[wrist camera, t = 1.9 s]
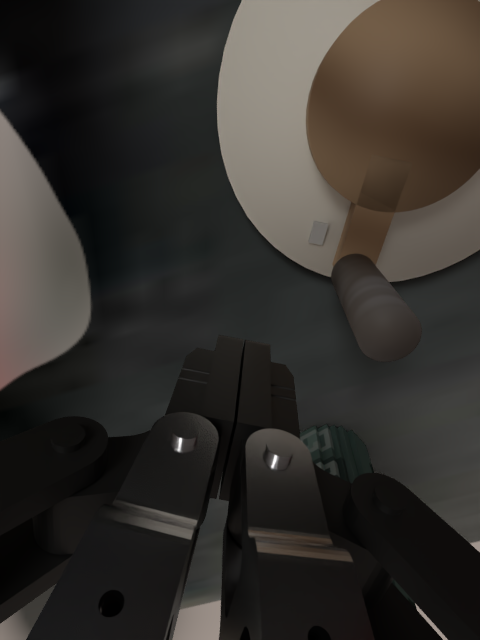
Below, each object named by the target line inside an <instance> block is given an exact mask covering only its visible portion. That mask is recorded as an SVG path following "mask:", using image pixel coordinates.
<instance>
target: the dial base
mask: <svg viewBox="0 0 480 640" xmlns="http://www.w3.org/2000/svg"><path fill="white" fill-rule="evenodd" d="M378 1H380V0H242V2H241V4H240V6H239V8H238V11H237V13H236V15H235V17H234V20H233V23H232V26H231V29H230V32H229V36H228V39H227V42H226V45H225V48H224V54H223V59H222V64H221V69H220V74H219V84H218V96H217V121H218V134H219V141H220V147H221V154H222V157H223V161H224V165H225V168H226V172H227V175H228V178H229V181H230V183H231V185H232V188H233V190H234V193H235V195H236V197H237V199H238V201H239V203H240V204H241V206H242V208H243V210H244V211H245V213H246V215H247V216H248V218H249V219H250V220H251V222H252V223H253V224H254V226H255V227H256V228H257V230H258V231H259V232H260V233H261V234H262V235H263V236H264V237H265V238H266V239H267V240H268V241H269V242H270V243H271V244H272V245H273V246H274V247H275V248H276V249H278V250H279V251H280V252H282V253H283V254H284V255H286V256H287V257H288V258H290V259H291V260H293V261H295V262H296V263H298V264H300V265H302V266H303V267H305V268H307V269H310V270H312V271H315V272H317V273H319V274H322V275H325V276H329V277H331V273H332V269H333V265H332V264H333V260H334V257H335V254H336V251H337V247H338V244H339V241H340V238H341V234H342V231H343V228H344V224H345V221H346V218H347V215H348V211H349V208H350V205H351V201H349V200H347V199H346V198H344V197H343V196H342V195H341V194H339V193H338V192H337V191H336V190H335V189H334V188H332V187H331V186H330V185H329V183H328V182H327V181H326V180H325V179H324V178H323V176H322V175H321V173H320V172H319V170H318V169H317V167H316V164H315V162H314V160H313V158H312V155H311V152H310V149H309V145H308V140H307V135H306V108H307V102H308V96H309V92H310V89H311V85H312V82H313V79H314V77H315V74H316V72H317V69H318V67H319V65H320V63H321V62H322V60H323V58H324V56H325V54H326V53H327V52H328V50H329V49H330V47H331V46H332V44H333V43H334V42H335V40H336V39H337V38H338V36H339V35H340V34H341V33H342V32H343V31H344V29H345V28H346V27H347V26H348V25H349V24H350V23H351V22H352V21H353V20H354V19H355V18H356V17H357V16H359V15H360V14H361V13H362V12H363V11H365V10H366V9H367V8H369V7H370V6H372V5H373V4H375V3H376V2H378ZM478 1H479V2H480V0H478ZM478 250H480V169H479V170H478V171H477V172H476V173H475V174H474V175H473V176H472V177H471V178H470V179H469V180H468V181H467V182H466V183H465V184H463V185H462V186H461V187H460V188H459V189H457V190H456V191H454V192H453V193H451V194H450V195H448V196H447V197H445V198H443V199H441V200H439V201H437V202H436V203H433V204H431V205H428V206H426V207H423V208H419V209H415V210H411V211H405V212H395V213H394V216H393V219H392V221H391V224H390V227H389V230H388V232H387V235H386V238H385V241H384V244H383V246H382V249H381V252H380V255H379V257H378V260H377V263H376V267H377V268H378V269H379V270H380V272H381V273H382V274H383V275H384V277H385V278H386V279H387V280H388V282H395V281H403V280H407V279H412V278H416V277H420V276H424V275H427V274H430V273H433V272H436V271H439V270H441V269H444V268H446V267H448V266H450V265H452V264H455V263H457V262H459V261H461V260H463V259H465V258H467V257H468V256H470V255H472V254H473V253H475V252H477V251H478Z"/></svg>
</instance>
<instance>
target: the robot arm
mask: <svg viewBox="0 0 480 640" xmlns="http://www.w3.org/2000/svg"><path fill="white" fill-rule="evenodd" d="M242 347H243V339H238V338H233V337H228V336H223V335H219V336H218V340H217V344H216V348H215V351H210V350H205V349H200V348H197V349H195V350H194V351H193V352H191V353H190V354H189V355H187V356H186V359H185V362H184V364H183V367H182V370H181V373H180V375H179V379H178V381H177V384H176V386H175V389H174V392H173V395H172V397H171V400H170V403H169V406H168V408H167V411H166V414H165V416H163V417H161V418H160V419H158V420H157V421H156V422H155V423H154V425H153V426H152V428H151V430H149V431H147V432H145V433H142V434H138V435H134V436H123V437H108V434H107V432H106V430H105V428H104V427H103V426H102V425H101V424H100V423H98V422H96V421H95V420H92V419H89V418H85V417H78V416H74V417H63V418H59V419H56V420H53V421H50V422H48V423H45V424H43V425H40V426H38V427H35V428H33V429H30V430H28V431H25V432H23V433H21V434H18V435H16V436H13V437H11V438H8V439H6V440H3V441H1V442H0V623H2V622H3V621H4V620H6V619H7V618H9V617H10V616H11V615H13V614H14V613H16V612H17V611H18V610H20V609H21V608H23V607H24V606H25V605H27V604H28V603H30V602H31V601H32V600H34V599H35V598H36V597H38V596H39V595H41V594H42V593H43V592H45V591H46V590H48V589H49V588H50V587H52V586H53V585H55V584H56V583H57V584H56V586H55V588H54V590H53V592H52V593H51V595H50V597H49V599H48V601H47V602H46V604H45V606H44V608H43V610H42V612H41V613H40V615H39V617H38V619H37V621H36V623H35V624H34V626H33V628H32V630H31V632H30V634H29V635H28V638H27V639H26V640H172V638H173V634H174V630H175V626H176V621H177V618H178V614H179V610H180V606H181V602H182V598H183V594H184V590H185V586H186V582H187V578H188V574H189V570H190V566H191V562H192V558H193V554H194V550H195V547H196V543H197V539H198V535H199V531H200V526H201V525H202V523H203V521H204V519H205V516H206V512H207V508H208V503H209V499H210V498H214V499H216V498H217V493H218V489H219V485H220V480H221V476H222V481H221V489H220V496H219V499H221V500H226V501H229V506H228V516H227V519H226V523H225V527H224V532H223V554H222V587H221V621H220V634H219V640H443V639H442V638H441V637H440V636H439V635H438V634H437V632H436V631H435V630H434V629H433V628H432V627H431V626H430V625H429V624H428V622H427V621H426V620H425V619H424V618H423V617H422V616H421V615H420V613H419V612H418V611H417V610H416V609H415V608H414V607H413V605H412V604H411V603H410V602H409V601H408V600H407V599H406V598H405V596H404V595H403V594H402V593H401V592H400V591H399V590H398V589H397V587H396V586H395V585H394V584H393V583H392V581H393V579H394V580H395V581H396V582H397V583H398V584H399V585H400V587H401V588H402V589H403V590H404V591H405V592H406V593H407V594H408V595H409V597H410V598H411V599H412V600H413V601H414V602H415V603H416V604H417V605H418V606H419V608H420V609H421V610H422V611H423V612H424V613H425V614H426V615H427V617H428V618H429V619H430V620H431V621H432V622H433V623H434V624H435V625H436V626H437V628H438V629H439V630H440V631H441V632H442V633H443V634H444V635H445V637H446V638H447V639H448V640H480V552H479V551H477V550H476V549H475V548H474V547H473V546H472V545H471V544H470V543H468V542H467V541H466V540H465V539H464V538H463V537H462V536H461V535H459V534H458V533H457V532H456V531H455V530H454V529H453V528H452V527H450V526H449V525H448V524H447V523H446V522H445V521H444V520H443V519H441V518H440V517H439V516H438V515H437V514H436V513H435V512H434V511H432V510H431V509H430V508H429V507H428V506H427V505H426V504H425V503H423V502H422V501H421V500H420V499H419V498H418V497H417V496H416V495H414V494H413V493H412V492H411V491H410V490H409V489H408V488H406V487H405V486H404V485H403V484H401V483H400V482H398V481H396V480H395V479H393V478H391V477H388V476H386V475H382V474H378V473H364V474H361V475H359V476H358V477H356V478H355V479H354V481H353V483H350V482H347V481H345V480H343V479H341V478H339V477H336V476H334V475H332V474H330V473H328V472H326V471H324V470H323V469H321V468H320V467H318V466H317V465H316V464H315V463H314V462H313V461H312V457H311V454H310V451H309V450H308V448H307V447H306V445H305V444H304V443H303V442H302V441H301V440H300V431H299V422H298V413H297V404H296V395H295V391H294V390H295V386H294V377H293V375H292V374H291V372H290V371H289V370H288V368H287V367H286V365H283V364H278V363H273V362H270V345H269V344H264V343H259V342H254V341H249V340H245V343H244V347H243V351H242ZM222 472H223V473H222Z"/></svg>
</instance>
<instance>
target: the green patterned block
mask: <svg viewBox="0 0 480 640" xmlns="http://www.w3.org/2000/svg"><path fill="white" fill-rule="evenodd" d="M300 440H301V441H302V442H303V443H304V444H305V445H306V447H307V448H308V450H309V451H310V454H311V457H312V461H313V462H314V463H315V464H316V465H317V466H318V467H320V468H321V469H323V470H324V471H326V472H328V473H330V474H332V475H334V476H336V477H339V478H341V479H343V480H345V481H347V482H350V483H353V481H354V479H355V478H356V477H358V476H359V475H361V474H364V473H374V471H373V467H372V464H371V461H370V458H369V455H368V451H367V448H366V446H365V444H364V443H363V442H362V441H361V440H360V439H359V438H358V436H357V435H356V434H355V433H354V432H353V431H352V430H350V431H349V432H347V431H346V430H345V429H344V428H343V427H342V426H340V427H338V428H336V426H335V425H333V426H331V427H329V426H328V425H327V424H326V425H324V426H322V427H320V428H317V427H316V426H313V427H311V428H309V429H307V430H306V431H304V432H302V433H300ZM392 583H393V584H394V585H395V586H396V587H397V589H398V590H399V591H400V592H401V593H402V594H403V595H404V596H405V598H406V599H407V600H408V601H409V602H410V603H411V604H412V605H413V607H414V608H415V609H416V606H415V602H414V601H413V600H412V599H411V598H410V597H409V595H408V594H407V593H406V592H405V591H404V590H403V589H402V588H401V587H400V585H399V584H398V583H397V582H396V581H395V580H394V579H393V581H392ZM416 610H417V609H416Z"/></svg>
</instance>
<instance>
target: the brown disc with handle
mask: <svg viewBox="0 0 480 640" xmlns="http://www.w3.org/2000/svg"><path fill="white" fill-rule="evenodd" d="M306 135H307V140H308V145H309V149H310V152H311V155H312V158H313V160H314V162H315V164H316V167H317V169H318V170H319V172H320V173H321V175H322V176H323V178H324V179H325V180H326V181H327V182H328V183H329V185H330V186H331V187H332V188H334V189H335V190H336V191H337V192H338V193H339V194H341V195H342V196H343V197H344V198H346V199H347V200H349V201H351V205H350V208H349V211H348V215H347V218H346V221H345V224H344V228H343V231H342V234H341V238H340V241H339V244H338V247H337V251H336V254H335V257H334V260H333V264H332V265H333V269H332V273H331V280H332V283H333V286H334V288H335V291H336V293H337V295H338V298H339V300H340V302H341V305H342V307H343V309H344V312H345V314H346V317H347V319H348V321H349V324H350V326H351V328H352V331H353V333H354V335H355V338H356V340H357V343H358V345H359V347H360V349H361V351H362V352H363V353H364V354H365V355H366V356H367V357H369V358H371V359H373V360H376V361H381V362H391V361H395V360H399V359H401V358H403V357H405V356H407V355H408V354H410V353H411V352H412V351H413V350H414V349H415V348H416V346H417V345H418V343H419V341H420V338H421V334H422V328H421V324H420V321H419V320H418V318H417V317H416V315H415V314H414V313H413V312H412V310H411V309H410V308H409V307H408V305H407V304H406V303H405V302H404V300H403V299H402V298H401V297H400V295H399V294H398V293H397V292H396V290H395V289H394V288H393V287H392V285H391V284H390V283H389V282H388V280H387V279H386V278H385V277H384V275H383V274H382V273H381V272H380V270H379V269H378V268H377V267H376V263H377V260H378V257H379V255H380V252H381V249H382V246H383V244H384V241H385V238H386V235H387V232H388V230H389V227H390V224H391V221H392V219H393V216H394V213H395V212H405V211H411V210H415V209H419V208H423V207H426V206H428V205H431V204H433V203H436V202H437V201H439V200H441V199H443V198H445V197H447V196H448V195H450V194H451V193H453V192H454V191H456V190H457V189H459V188H460V187H461V186H462V185H463V184H465V183H466V182H467V181H468V180H469V179H470V178H471V177H472V176H473V175H474V174H475V173H476V172H477V171H478V170H479V169H480V2H479V1H478V0H380V1H378V2H376V3H375V4H373V5H372V6H370V7H369V8H367V9H366V10H365V11H363V12H362V13H361V14H360V15H359V16H357V17H356V18H355V19H354V20H353V21H352V22H351V23H350V24H349V25H348V26H347V27H346V28H345V29H344V31H343V32H342V33H341V34H340V35H339V36H338V38H337V39H336V40H335V42H334V43H333V44H332V46H331V47H330V49H329V50H328V52H327V53H326V54H325V56H324V58H323V60H322V62H321V63H320V65H319V67H318V69H317V72H316V74H315V77H314V79H313V82H312V85H311V89H310V92H309V96H308V102H307V108H306Z"/></svg>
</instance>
